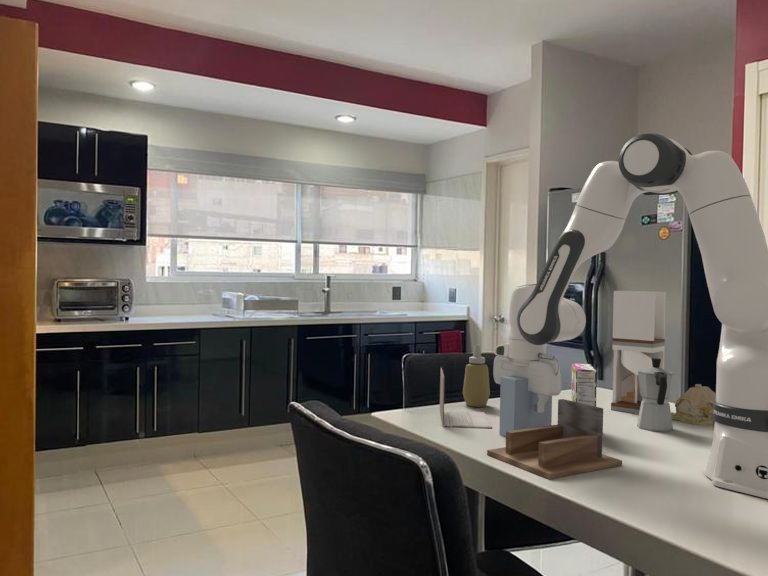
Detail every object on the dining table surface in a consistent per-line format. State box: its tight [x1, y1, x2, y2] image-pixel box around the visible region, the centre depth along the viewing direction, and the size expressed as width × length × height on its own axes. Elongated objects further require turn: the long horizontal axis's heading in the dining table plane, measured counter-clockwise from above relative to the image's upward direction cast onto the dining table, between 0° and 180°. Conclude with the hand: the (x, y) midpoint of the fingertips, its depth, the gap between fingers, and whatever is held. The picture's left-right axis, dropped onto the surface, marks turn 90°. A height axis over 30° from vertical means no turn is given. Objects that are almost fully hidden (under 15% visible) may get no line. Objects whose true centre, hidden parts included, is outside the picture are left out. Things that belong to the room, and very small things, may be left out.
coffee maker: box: [636, 358, 675, 433], centre depth 156 cm, size 15×9×18 cm, turn 168°
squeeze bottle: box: [462, 344, 491, 408], centre depth 182 cm, size 8×8×18 cm
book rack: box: [486, 398, 623, 480], centre depth 126 cm, size 18×20×11 cm
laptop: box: [439, 367, 493, 429], centre depth 162 cm, size 18×12×13 cm
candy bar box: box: [570, 363, 598, 407], centre depth 150 cm, size 11×5×16 cm, turn 168°
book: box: [498, 376, 553, 438], centre depth 148 cm, size 5×12×14 cm, turn 120°
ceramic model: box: [671, 383, 716, 426], centre depth 168 cm, size 14×11×10 cm
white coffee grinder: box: [610, 290, 667, 415], centre depth 180 cm, size 11×11×35 cm
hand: (525, 408), depth 148 cm, fingers open, 8 cm apart
